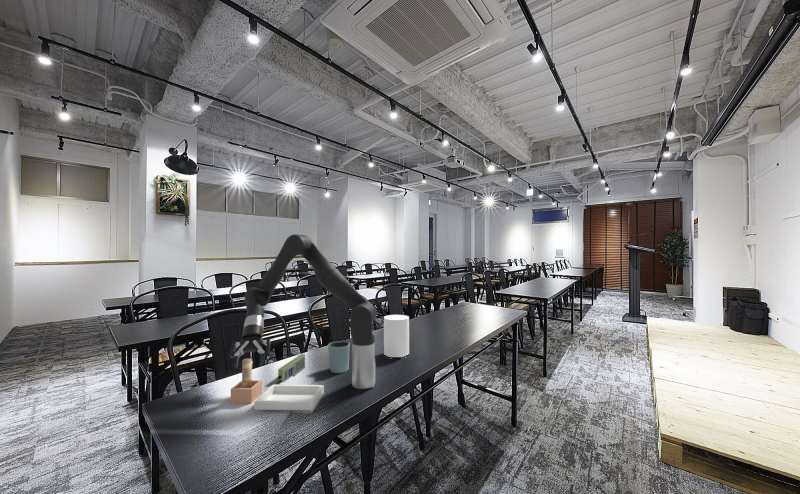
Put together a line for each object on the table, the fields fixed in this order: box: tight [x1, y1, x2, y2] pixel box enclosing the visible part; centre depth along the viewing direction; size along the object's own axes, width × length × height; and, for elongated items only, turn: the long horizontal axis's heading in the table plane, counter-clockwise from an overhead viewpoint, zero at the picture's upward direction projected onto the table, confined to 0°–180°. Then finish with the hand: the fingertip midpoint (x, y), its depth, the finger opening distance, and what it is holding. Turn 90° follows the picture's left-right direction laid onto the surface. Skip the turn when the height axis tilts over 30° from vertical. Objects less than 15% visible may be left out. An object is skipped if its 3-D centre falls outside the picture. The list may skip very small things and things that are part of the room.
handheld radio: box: [275, 353, 306, 385], centre depth 132 cm, size 7×3×25 cm
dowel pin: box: [241, 357, 253, 388], centre depth 111 cm, size 3×3×14 cm
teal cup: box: [327, 340, 351, 374], centre depth 141 cm, size 10×10×12 cm
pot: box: [230, 379, 263, 404], centre depth 111 cm, size 8×8×6 cm
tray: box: [253, 383, 325, 414], centre depth 110 cm, size 20×14×4 cm
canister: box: [383, 314, 410, 357], centre depth 163 cm, size 14×14×20 cm
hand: (248, 365), depth 115 cm, fingers open, 8 cm apart
